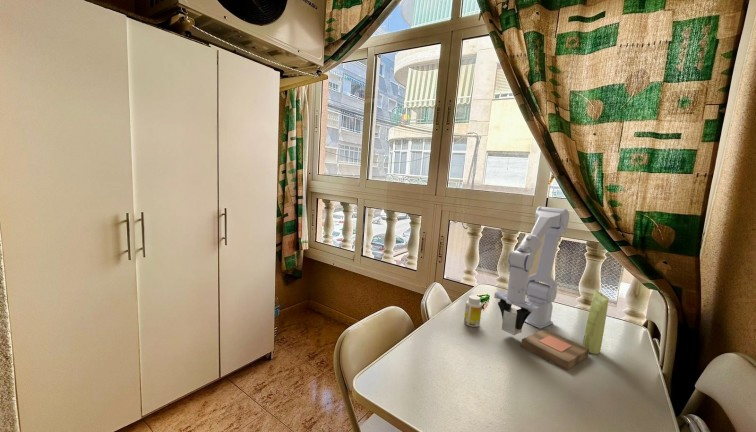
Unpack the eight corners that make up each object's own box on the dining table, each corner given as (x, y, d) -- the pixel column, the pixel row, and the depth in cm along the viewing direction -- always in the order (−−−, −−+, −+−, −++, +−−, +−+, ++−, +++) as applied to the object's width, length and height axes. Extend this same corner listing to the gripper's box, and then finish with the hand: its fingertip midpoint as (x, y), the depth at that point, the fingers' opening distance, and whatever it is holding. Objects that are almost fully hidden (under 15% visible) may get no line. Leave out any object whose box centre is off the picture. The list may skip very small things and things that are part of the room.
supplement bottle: (482, 325, 114) (485, 298, 112) (473, 329, 110) (477, 301, 109) (469, 319, 118) (472, 293, 117) (460, 322, 114) (463, 296, 113)
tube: (605, 352, 100) (615, 294, 98) (598, 357, 98) (608, 297, 95) (585, 344, 105) (595, 288, 102) (578, 348, 102) (588, 291, 100)
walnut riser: (543, 335, 109) (544, 328, 109) (587, 356, 98) (589, 348, 97) (521, 346, 101) (522, 338, 100) (567, 370, 90) (568, 361, 89)
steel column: (509, 326, 109) (511, 307, 108) (521, 332, 105) (524, 312, 104) (501, 329, 106) (504, 310, 105) (513, 335, 103) (516, 315, 102)
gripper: (490, 281, 107) (486, 319, 109) (532, 296, 95) (526, 338, 97) (502, 278, 111) (498, 314, 113) (543, 293, 99) (537, 332, 101)
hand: (512, 325), depth 105 cm, fingers closed on steel column, 4 cm apart
